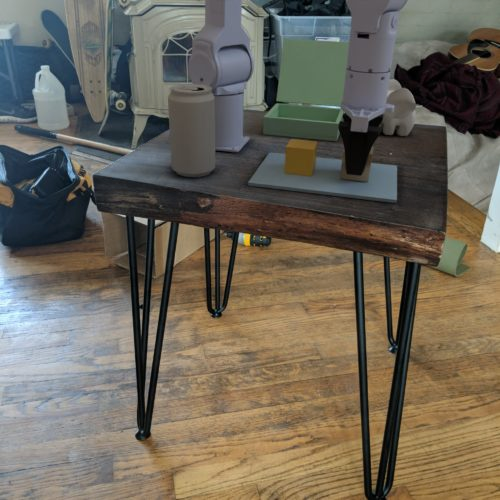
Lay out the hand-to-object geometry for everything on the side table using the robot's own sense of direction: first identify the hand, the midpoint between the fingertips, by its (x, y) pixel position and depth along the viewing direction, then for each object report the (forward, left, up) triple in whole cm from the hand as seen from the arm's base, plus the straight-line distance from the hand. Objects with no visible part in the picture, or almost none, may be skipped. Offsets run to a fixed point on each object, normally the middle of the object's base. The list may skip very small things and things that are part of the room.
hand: (355, 169), depth 73 cm
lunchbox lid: (-11, +32, +8) cm, 34 cm away
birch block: (0, 0, -1) cm, 1 cm away
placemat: (-4, 0, -2) cm, 4 cm away
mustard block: (-8, 0, -1) cm, 8 cm away
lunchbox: (-11, +24, -2) cm, 26 cm away
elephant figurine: (+4, +28, -2) cm, 28 cm away
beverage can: (-23, -4, -2) cm, 23 cm away
